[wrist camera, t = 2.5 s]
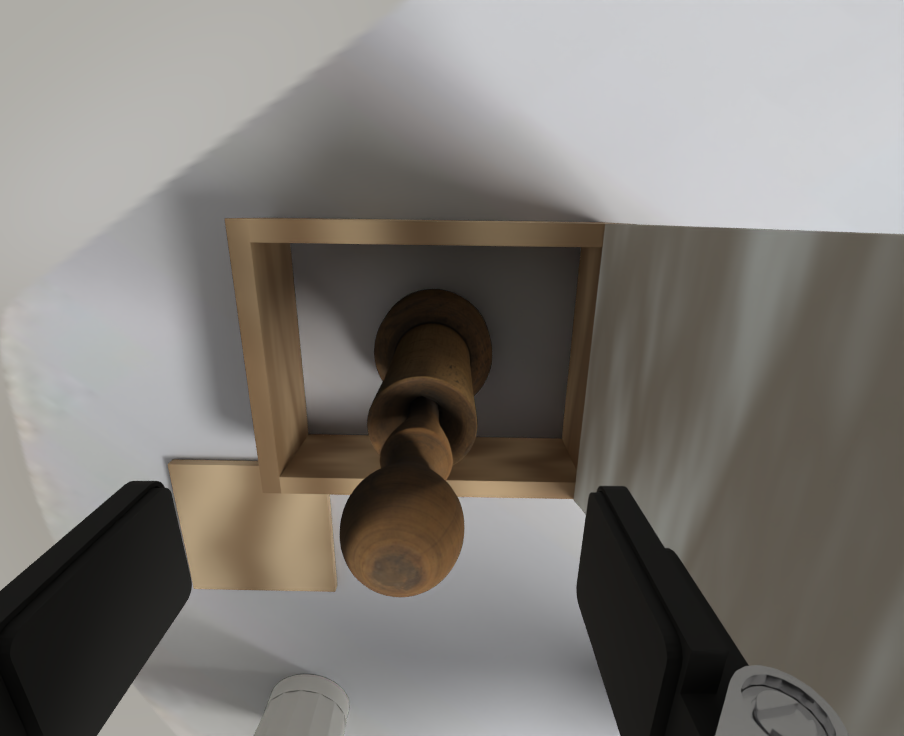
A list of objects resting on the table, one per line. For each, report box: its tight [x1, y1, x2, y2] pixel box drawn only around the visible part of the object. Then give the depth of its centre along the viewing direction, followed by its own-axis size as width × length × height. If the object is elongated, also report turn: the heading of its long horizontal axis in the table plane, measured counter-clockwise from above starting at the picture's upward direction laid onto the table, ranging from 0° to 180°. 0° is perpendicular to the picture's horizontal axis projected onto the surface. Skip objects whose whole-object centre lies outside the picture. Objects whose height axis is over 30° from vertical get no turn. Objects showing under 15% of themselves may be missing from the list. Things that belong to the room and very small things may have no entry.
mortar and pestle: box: [340, 289, 492, 597], centre depth 18 cm, size 7×6×18 cm
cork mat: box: [168, 459, 337, 592], centre depth 31 cm, size 10×10×1 cm
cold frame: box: [225, 218, 904, 736], centre depth 17 cm, size 22×14×22 cm, turn 89°
